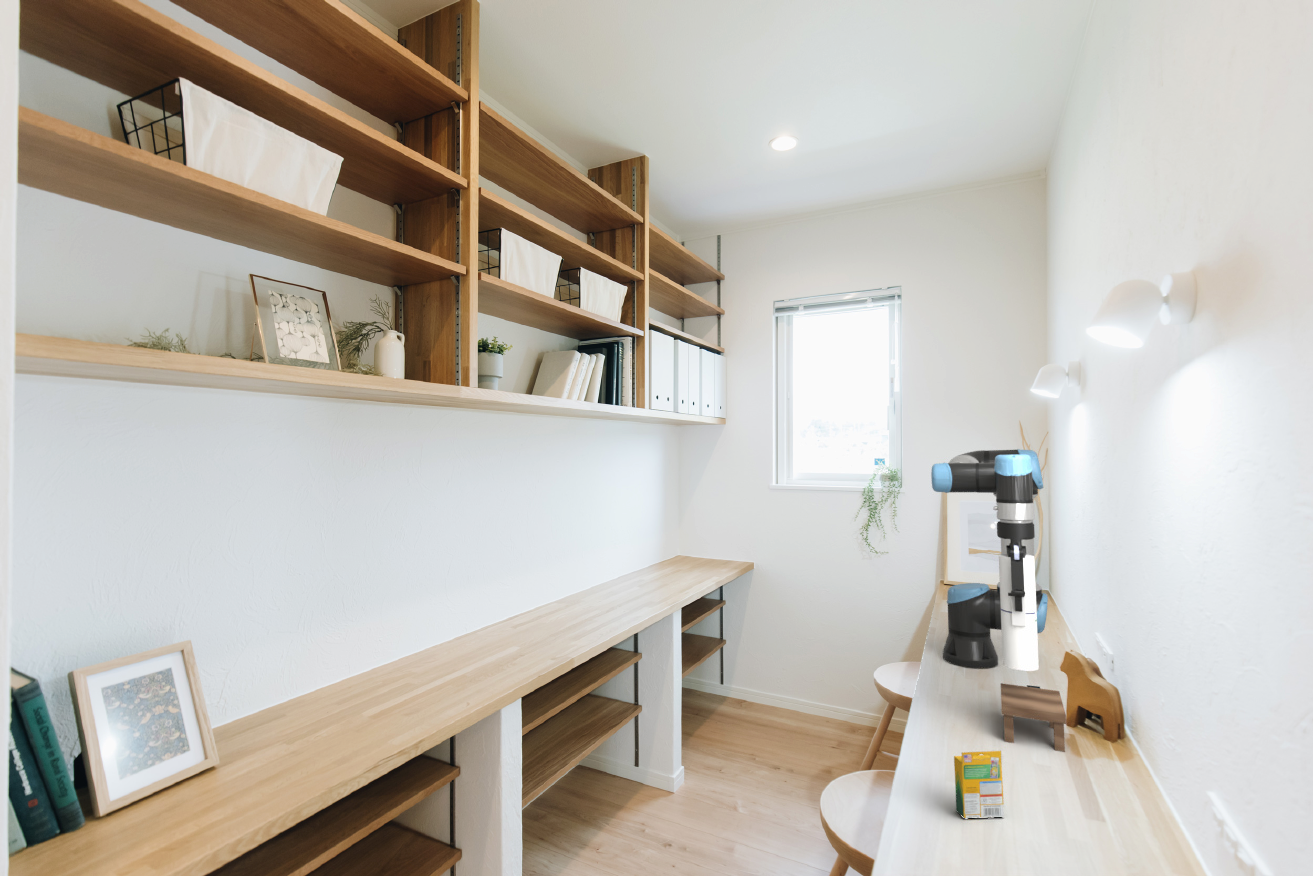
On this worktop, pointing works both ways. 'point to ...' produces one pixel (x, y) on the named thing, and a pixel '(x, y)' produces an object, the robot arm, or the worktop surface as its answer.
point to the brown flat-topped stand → (1033, 710)
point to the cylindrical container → (1016, 639)
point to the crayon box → (979, 784)
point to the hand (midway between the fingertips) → (1018, 621)
